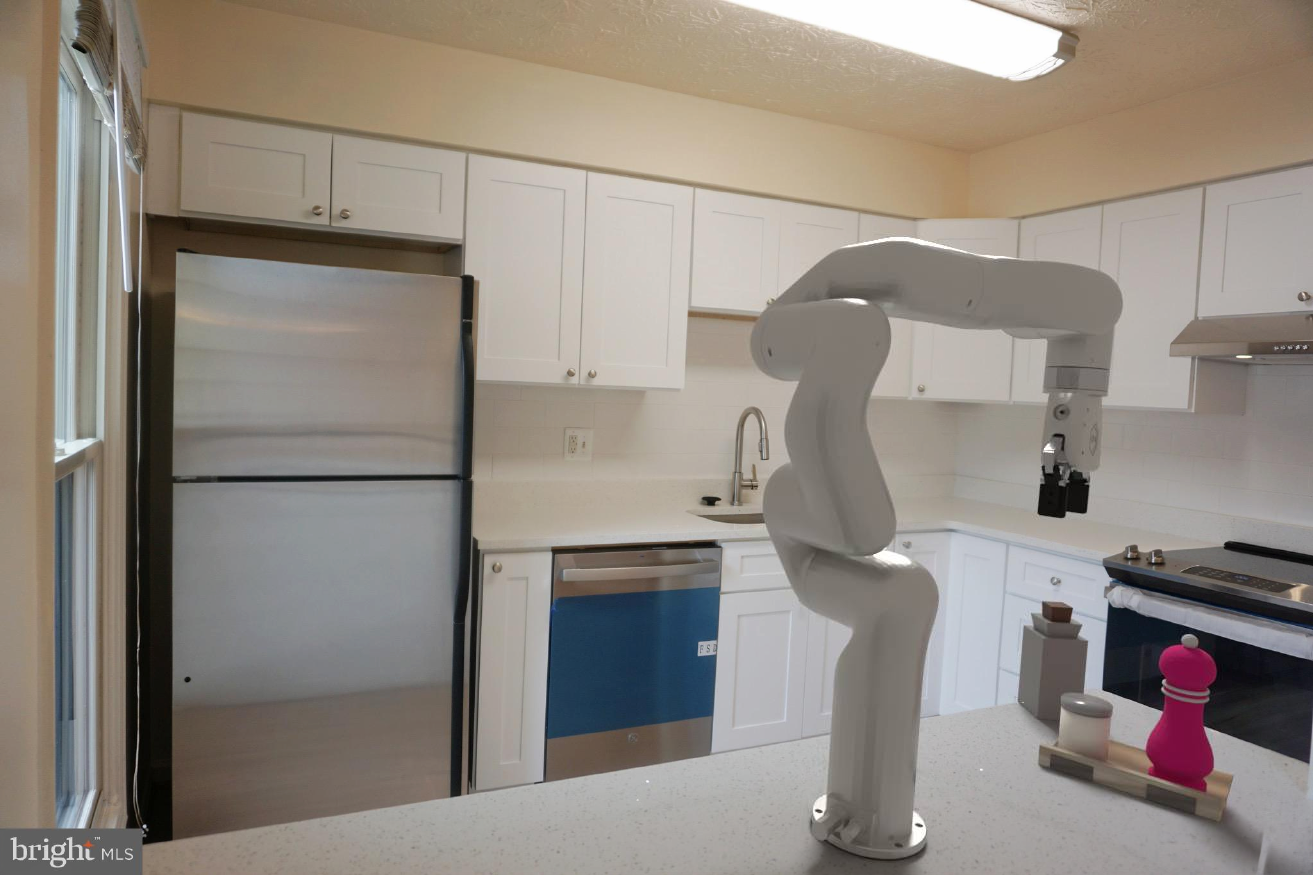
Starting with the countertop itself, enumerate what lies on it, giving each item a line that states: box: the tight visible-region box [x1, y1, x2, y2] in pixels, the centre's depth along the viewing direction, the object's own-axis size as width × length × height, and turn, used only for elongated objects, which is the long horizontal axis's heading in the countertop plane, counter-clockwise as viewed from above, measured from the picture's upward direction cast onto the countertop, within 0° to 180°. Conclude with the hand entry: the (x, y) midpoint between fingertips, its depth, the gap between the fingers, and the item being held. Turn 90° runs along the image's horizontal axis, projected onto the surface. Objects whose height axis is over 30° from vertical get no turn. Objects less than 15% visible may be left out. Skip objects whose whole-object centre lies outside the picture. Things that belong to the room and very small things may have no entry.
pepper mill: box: [1145, 633, 1218, 793], centre depth 100 cm, size 7×7×20 cm
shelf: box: [1037, 739, 1234, 823], centre depth 105 cm, size 16×20×4 cm
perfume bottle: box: [1017, 600, 1089, 721], centre depth 124 cm, size 7×7×18 cm
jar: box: [1057, 693, 1114, 762], centre depth 108 cm, size 6×6×8 cm
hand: (1062, 514), depth 104 cm, fingers open, 9 cm apart
